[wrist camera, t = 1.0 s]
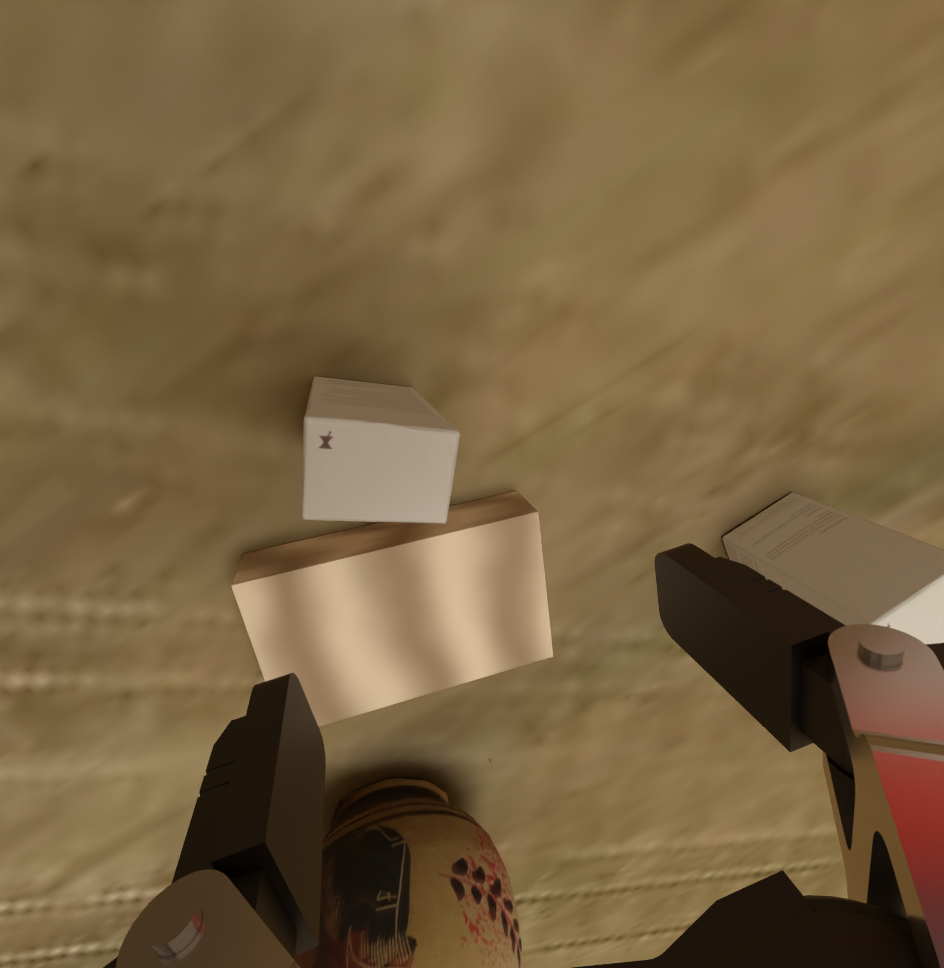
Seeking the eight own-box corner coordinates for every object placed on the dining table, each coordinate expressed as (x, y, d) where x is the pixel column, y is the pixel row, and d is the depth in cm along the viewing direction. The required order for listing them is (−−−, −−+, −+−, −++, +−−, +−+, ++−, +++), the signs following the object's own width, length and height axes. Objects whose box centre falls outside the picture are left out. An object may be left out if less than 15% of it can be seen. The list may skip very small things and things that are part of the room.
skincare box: (309, 446, 31) (295, 521, 20) (313, 374, 29) (300, 412, 18) (409, 454, 32) (448, 527, 21) (417, 386, 31) (462, 427, 20)
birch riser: (290, 692, 35) (285, 736, 32) (243, 553, 32) (231, 585, 28) (532, 623, 39) (553, 656, 35) (516, 490, 35) (538, 511, 31)
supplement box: (741, 601, 44) (888, 706, 32) (718, 535, 41) (872, 624, 29) (811, 556, 44) (982, 644, 32) (794, 488, 41) (975, 557, 30)
